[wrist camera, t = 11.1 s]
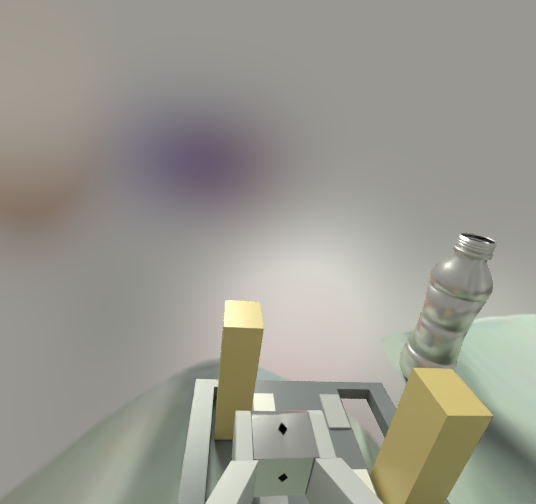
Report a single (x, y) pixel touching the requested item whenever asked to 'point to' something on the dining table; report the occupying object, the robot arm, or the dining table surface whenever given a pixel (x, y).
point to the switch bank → (281, 399)
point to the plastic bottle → (450, 305)
